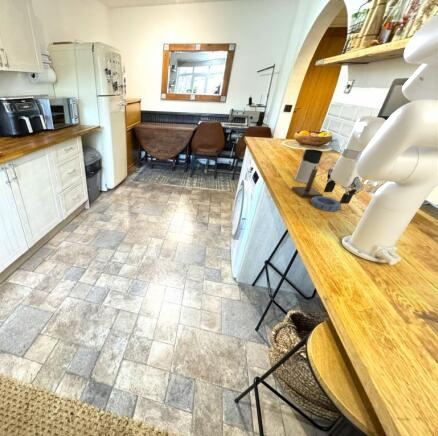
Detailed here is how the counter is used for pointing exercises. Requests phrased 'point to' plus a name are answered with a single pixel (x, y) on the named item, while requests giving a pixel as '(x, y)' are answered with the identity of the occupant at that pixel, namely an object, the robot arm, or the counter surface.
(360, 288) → the counter surface
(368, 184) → the wineglass
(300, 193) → the stand
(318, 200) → the ring
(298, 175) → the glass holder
